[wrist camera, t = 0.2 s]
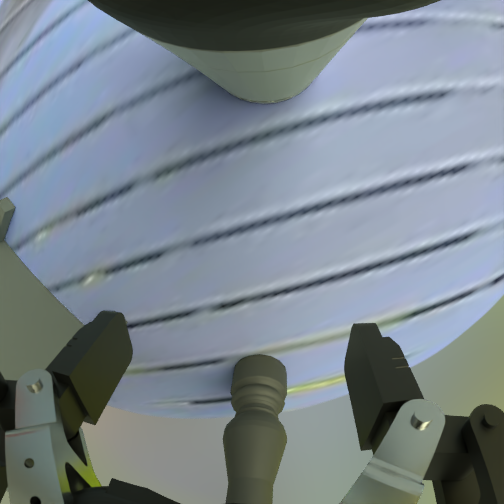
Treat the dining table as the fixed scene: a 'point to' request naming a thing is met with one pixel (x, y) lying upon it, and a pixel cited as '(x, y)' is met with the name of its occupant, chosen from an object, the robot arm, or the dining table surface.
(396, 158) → the dining table surface
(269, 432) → the candle holder
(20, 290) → the wall board
